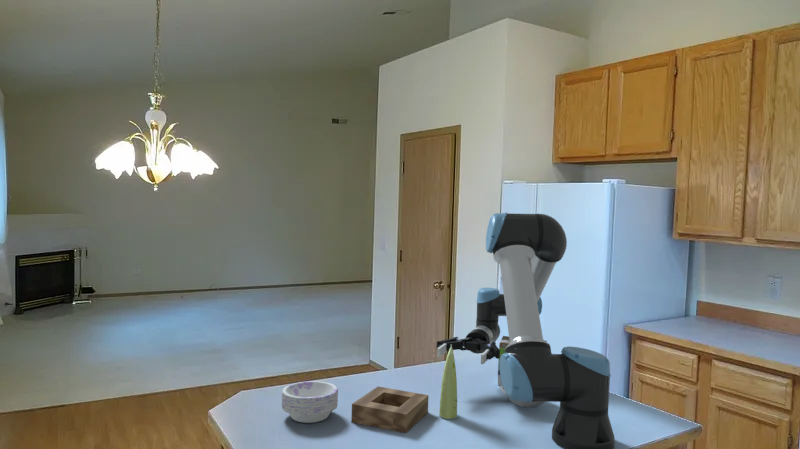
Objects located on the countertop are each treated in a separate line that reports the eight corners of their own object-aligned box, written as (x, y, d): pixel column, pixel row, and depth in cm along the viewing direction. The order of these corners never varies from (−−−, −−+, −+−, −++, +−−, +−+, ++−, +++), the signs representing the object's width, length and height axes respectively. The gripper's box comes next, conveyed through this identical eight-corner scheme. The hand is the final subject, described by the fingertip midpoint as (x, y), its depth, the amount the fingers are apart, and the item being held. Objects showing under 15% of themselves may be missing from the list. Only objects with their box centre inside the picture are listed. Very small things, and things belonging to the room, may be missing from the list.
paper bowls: (306, 403, 162) (307, 376, 162) (348, 414, 154) (349, 386, 154) (269, 419, 149) (269, 390, 149) (313, 433, 141) (313, 402, 141)
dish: (561, 416, 157) (562, 399, 156) (514, 419, 154) (514, 401, 154) (534, 395, 174) (535, 379, 174) (491, 397, 171) (492, 381, 171)
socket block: (427, 412, 157) (428, 395, 157) (406, 433, 142) (406, 414, 142) (377, 403, 163) (377, 386, 163) (351, 422, 149) (351, 403, 149)
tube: (462, 418, 154) (464, 348, 153) (447, 421, 151) (449, 350, 150) (449, 411, 158) (451, 344, 158) (435, 414, 155) (437, 346, 155)
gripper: (516, 356, 178) (500, 375, 159) (443, 345, 188) (420, 362, 169) (517, 333, 178) (501, 349, 158) (443, 324, 188) (421, 338, 168)
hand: (459, 356), depth 163 cm, fingers open, 13 cm apart
